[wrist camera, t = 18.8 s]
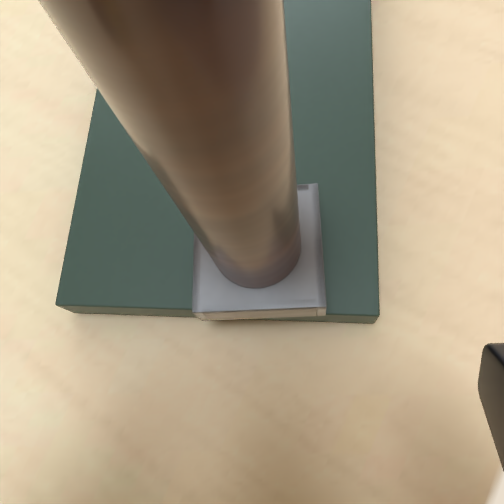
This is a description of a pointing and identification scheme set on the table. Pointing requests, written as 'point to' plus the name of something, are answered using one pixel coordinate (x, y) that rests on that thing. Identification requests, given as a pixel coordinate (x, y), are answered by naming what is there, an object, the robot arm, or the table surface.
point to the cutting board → (307, 172)
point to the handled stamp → (213, 139)
